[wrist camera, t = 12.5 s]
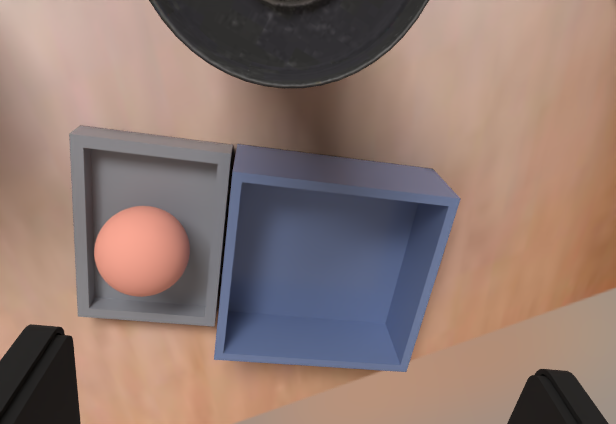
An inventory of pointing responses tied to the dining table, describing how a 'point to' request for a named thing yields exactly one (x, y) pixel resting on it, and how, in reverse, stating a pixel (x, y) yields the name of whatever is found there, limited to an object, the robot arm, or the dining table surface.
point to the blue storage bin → (329, 259)
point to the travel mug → (289, 36)
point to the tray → (156, 193)
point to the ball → (142, 251)
